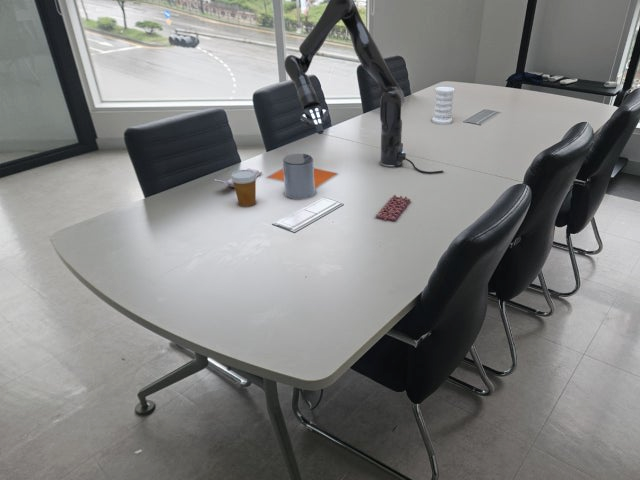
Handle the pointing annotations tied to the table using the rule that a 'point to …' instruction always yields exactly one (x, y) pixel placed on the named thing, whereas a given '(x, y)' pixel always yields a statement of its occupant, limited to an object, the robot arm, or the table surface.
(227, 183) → the grey white handled utensil
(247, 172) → the disposable coffee cup
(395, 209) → the red flat knobbed bar
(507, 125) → the table surface
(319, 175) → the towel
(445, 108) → the decorative container
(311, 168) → the crock
